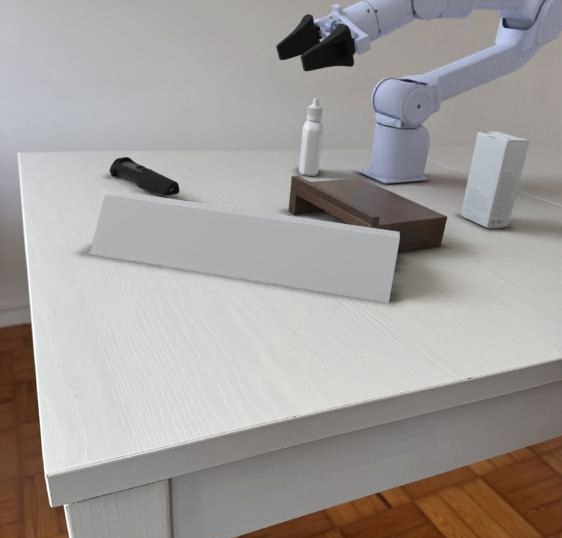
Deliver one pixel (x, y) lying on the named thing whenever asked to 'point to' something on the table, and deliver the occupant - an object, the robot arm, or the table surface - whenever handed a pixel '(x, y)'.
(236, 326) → the table surface
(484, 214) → the cosmetic box
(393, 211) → the shelf
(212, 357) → the table surface
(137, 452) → the table surface
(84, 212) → the table surface
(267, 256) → the molding piece
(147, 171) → the electric trimmer
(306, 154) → the eye dropper bottle
